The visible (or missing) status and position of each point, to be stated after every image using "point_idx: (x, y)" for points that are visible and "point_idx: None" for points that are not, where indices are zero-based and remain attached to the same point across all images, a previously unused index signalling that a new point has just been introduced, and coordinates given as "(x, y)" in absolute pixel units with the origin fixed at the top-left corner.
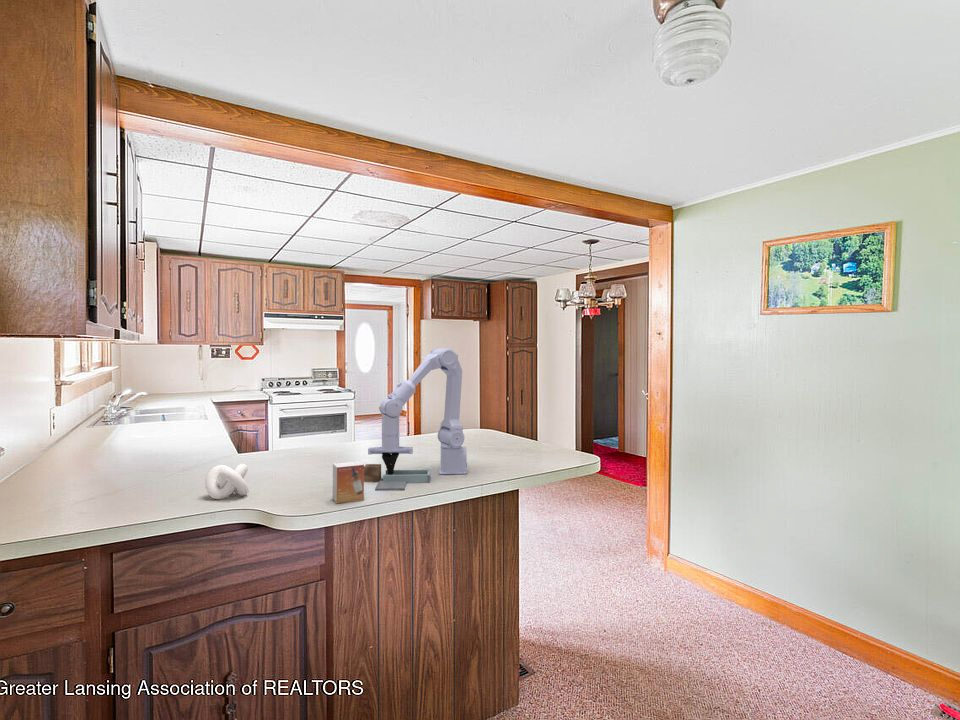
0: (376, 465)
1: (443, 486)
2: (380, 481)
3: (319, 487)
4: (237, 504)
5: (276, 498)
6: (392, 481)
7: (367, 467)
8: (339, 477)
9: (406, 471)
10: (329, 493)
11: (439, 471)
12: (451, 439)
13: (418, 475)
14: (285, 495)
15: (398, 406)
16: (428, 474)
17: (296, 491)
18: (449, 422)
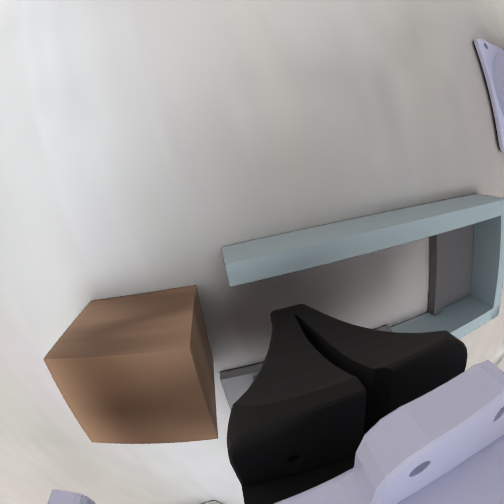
0: (167, 402)
1: (497, 331)
2: (238, 394)
3: (16, 436)
4: (4, 497)
5: (21, 490)
6: None
7: (121, 440)
8: None
9: (400, 240)
10: (100, 488)
11: (499, 119)
12: None
13: (461, 336)
14: (15, 478)
15: None
16: (496, 307)
17: (4, 458)
18: None
